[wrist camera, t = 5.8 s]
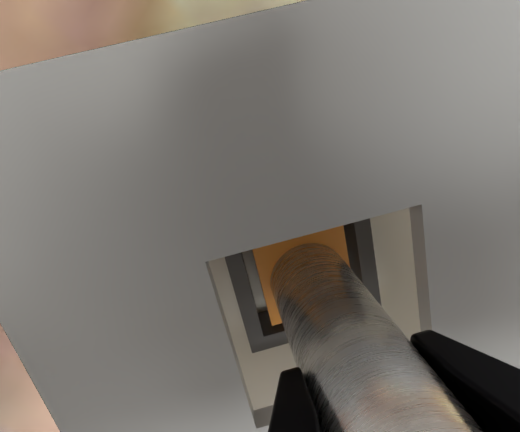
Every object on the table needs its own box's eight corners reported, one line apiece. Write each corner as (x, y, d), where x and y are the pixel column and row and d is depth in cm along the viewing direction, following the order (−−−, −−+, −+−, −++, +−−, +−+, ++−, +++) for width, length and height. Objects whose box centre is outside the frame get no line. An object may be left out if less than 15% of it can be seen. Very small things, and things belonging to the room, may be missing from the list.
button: (328, 209, 12) (343, 223, 11) (341, 281, 13) (355, 302, 12) (247, 231, 12) (251, 247, 11) (265, 302, 13) (271, 325, 12)
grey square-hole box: (458, -8, 12) (625, -73, 7) (472, 345, 17) (578, 446, 12) (16, 96, 11) (-124, 99, 6) (162, 435, 16) (143, 582, 11)
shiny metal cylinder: (339, 233, 11) (1045, 980, 2) (351, 301, 12) (877, 1062, 3) (262, 254, 11) (582, 1181, 2) (278, 320, 12) (556, 1199, 2)
